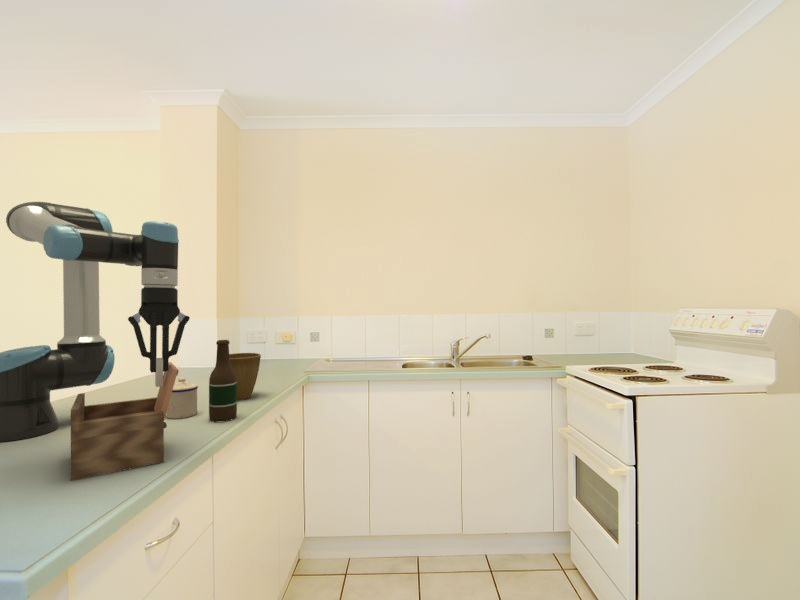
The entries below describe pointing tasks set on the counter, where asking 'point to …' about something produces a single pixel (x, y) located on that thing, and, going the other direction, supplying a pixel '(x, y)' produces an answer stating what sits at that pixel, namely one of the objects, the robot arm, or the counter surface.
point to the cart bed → (115, 436)
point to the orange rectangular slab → (166, 389)
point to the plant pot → (245, 372)
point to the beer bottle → (222, 386)
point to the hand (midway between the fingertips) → (159, 385)
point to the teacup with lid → (182, 400)
